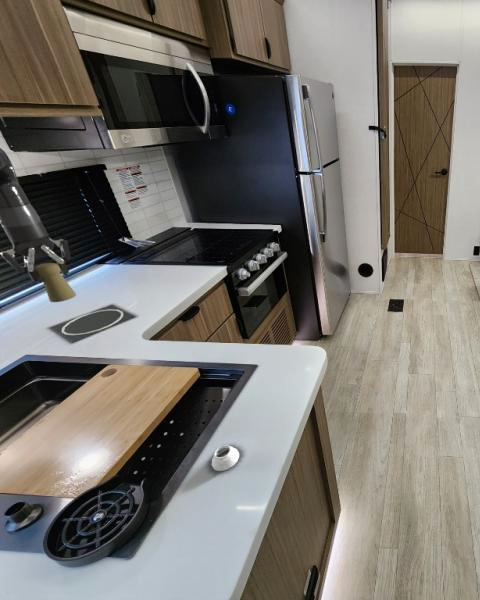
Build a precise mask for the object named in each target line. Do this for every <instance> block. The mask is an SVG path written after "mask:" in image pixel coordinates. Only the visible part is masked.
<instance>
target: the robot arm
mask: <svg viewBox="0 0 480 600" xmlns="http://www.w3.org/2000/svg"><path fill="white" fill-rule="evenodd" d="M29 200H30V199H28V196H27V194H26V193H25V191H24V189H23V188H22V186H21V184H20V182H19V179H18V175H17V173H16V171H15V167H14V165H13V163H12V161H11V159H10V157H9V156H8V154H7V153H6V152H5V150H3V149H2V148H1V147H0V226H1V227H2V229H3V231H4V232H5V234H6V236H7V238H8V239H9V241H10V242H11V249H8V250H5V251H0V256H1V257H2V258H3V259H4V260H5V261H6V262H7V263H8V264H9V265H10V266H11V267H12V268H13V269H14V270H15V271H17V272H19V273H23V272H26V273H27V274H28V276H29V277H30V279H31V280H32V281H33V282H35V283H38V284H41V283H43V280H42V278H41V277H40V276H39V275H38V274H37V272H36V271H35V260H38V259H40V258H47V257H50V258H51V259H52V260H54V261H55V263H56V264H58V265H59V267H60V270H61V271H60V273H61V275H62V276H63V277H66V276H69V274H70V270H69V269H68V267H67V264H66V262H67V261H70V260H71V259H72V256H71V252H70V248H69V242H68V241H67V240H66V239H63V238H60V239H53V238H51V237H50V235H49V233H48V232H47V229H46V228H45V226H44V225H43V223H42V220H41V217H40V216H39V214H38V212H37V211H36V209H35V208H34V207H33V205H32V204H31V202H30V201H29ZM55 245H56V246H57V247H58V248H60V251H61V252H60V253H61V256H59V255H58V254H56V253H55V251H53V250H54V247H55ZM16 253H17V254H19V255H21V256H23V262H24V266H23V265H21V264H19V262H17V260H16V259H15V258H16V255H15V254H16Z"/></svg>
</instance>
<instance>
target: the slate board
mask: <svg viewBox="0 0 480 600" xmlns="http://www.w3.org/2000/svg"><path fill="white" fill-rule="evenodd" d="M134 318H136V315H133V314H131V313H129V312H127V311H125V310H123V309H121V308H119V307H116V306H115V305H113V304H110V305H107V306H104V307H102V308H99V309H96V310H94V311H91V312H88V313H85V314H83V315H80V316H77V317H74V318H72V319H69V320H66V321H63V322H61V323H58V324H55V325H52V326H50V329H52V330H53V331H54V332H56V333H57V334H59V335H60V336H62V337H63V338H65V339H66V340H68V341H69V342H71V343H72V344H74V343H76V342H79V341H81V340H83V339H85V338H88V337H91V336H94V335H95V334H97V333H101V332H102V331H105V330H108V329H110V328H112V327H115V326H117V325H119V324H120V325H121V324H122V323H124V322H126V321H130V320H131V319H134Z"/></svg>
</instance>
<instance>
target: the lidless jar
mask: <svg viewBox="0 0 480 600" xmlns="http://www.w3.org/2000/svg"><path fill="white" fill-rule="evenodd" d="M227 451H228V452H227ZM224 452H227V453H226V454H225V455H223V456H220V455H221V454H222V453H224ZM219 456H220V457H219ZM239 459H240V452H239V451H238V449H237V448H235V447H233V446H231V445H228V444H224V445H220V446H219V447H217V449H215V451H214V453H213V457H212V459H211V466H212V468H213V470H215V471H217V472H223V471H227V470H229V469H230V468H232V467H234V465H235V464H237V462H238V460H239Z"/></svg>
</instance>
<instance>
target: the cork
mask: <svg viewBox="0 0 480 600" xmlns="http://www.w3.org/2000/svg"><path fill="white" fill-rule="evenodd" d="M34 270H35V271H36V272H37V274H38V275H39V277H40V279H41V281H42V283H43V286H44V289H45V291H46V295H47V296H48V299H49V303H61V302H65V301H68V300H71V299H73V298H75V297H76V296H77V293H76V292H75V290H74V289H73V288H72V286H71V285H70V284H69V283H68V281H67V280H66V279H65V276H64V275H62V273H61V270H60V267H59V265H58V264H57V262H45V263H41V264H38V265H36V266H34Z"/></svg>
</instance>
